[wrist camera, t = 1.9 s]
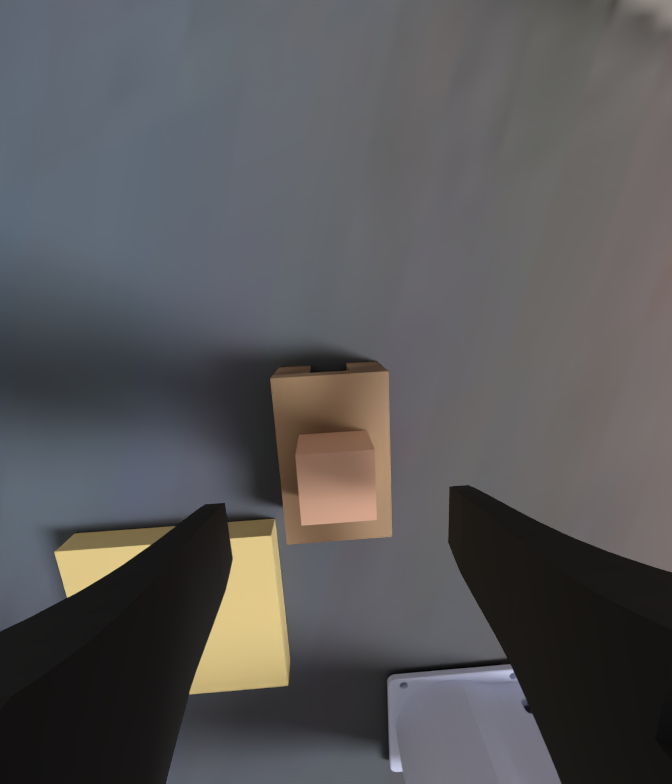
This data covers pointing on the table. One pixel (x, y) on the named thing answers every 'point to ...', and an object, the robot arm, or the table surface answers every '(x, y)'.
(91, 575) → the plate
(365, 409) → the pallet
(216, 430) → the table surface
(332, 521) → the salmon pink square block
